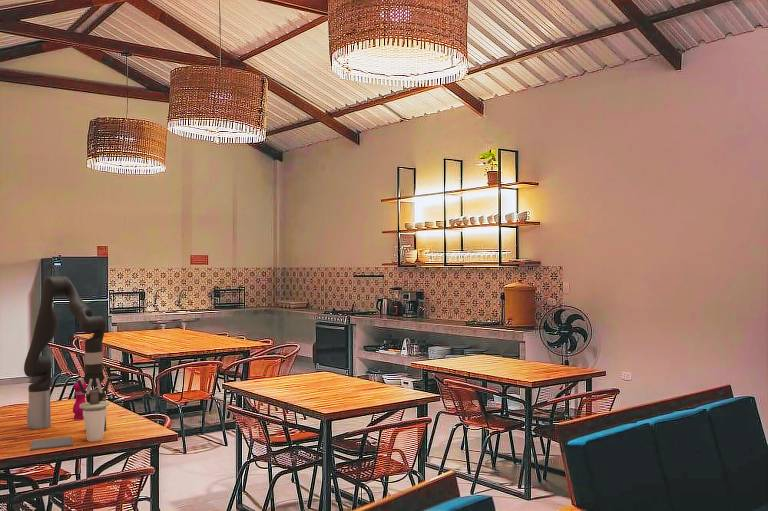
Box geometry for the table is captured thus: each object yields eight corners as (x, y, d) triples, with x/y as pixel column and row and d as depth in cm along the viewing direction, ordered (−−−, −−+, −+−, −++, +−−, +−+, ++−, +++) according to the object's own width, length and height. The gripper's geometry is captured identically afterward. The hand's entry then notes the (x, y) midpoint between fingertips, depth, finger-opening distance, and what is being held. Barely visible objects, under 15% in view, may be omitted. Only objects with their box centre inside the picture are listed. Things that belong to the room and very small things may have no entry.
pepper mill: (75, 417, 366) (74, 377, 366) (90, 416, 367) (89, 376, 367) (70, 420, 359) (69, 379, 359) (85, 419, 360) (85, 378, 360)
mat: (30, 450, 301) (30, 448, 301) (31, 442, 315) (31, 440, 315) (72, 445, 307) (72, 444, 307) (72, 437, 322) (72, 436, 322)
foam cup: (98, 442, 312) (97, 411, 312) (79, 441, 314) (78, 411, 314) (111, 437, 321) (110, 407, 321) (92, 436, 323) (91, 407, 323)
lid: (75, 409, 311) (74, 395, 311) (85, 403, 323) (85, 390, 323) (103, 408, 312) (103, 394, 312) (113, 402, 324) (112, 389, 324)
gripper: (76, 364, 312) (76, 405, 311) (111, 362, 317) (112, 402, 317) (75, 362, 319) (76, 402, 318) (110, 360, 324) (111, 399, 324)
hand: (94, 401), depth 318 cm, fingers closed on lid, 4 cm apart
